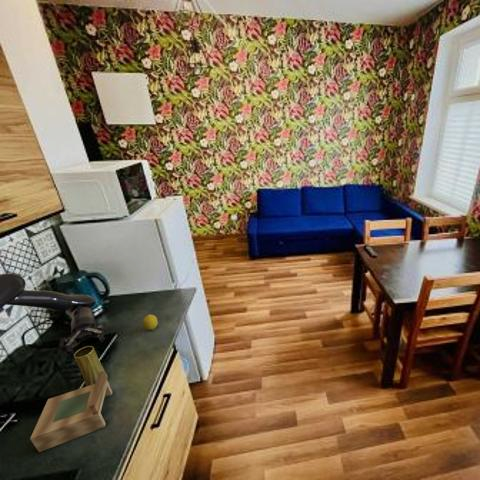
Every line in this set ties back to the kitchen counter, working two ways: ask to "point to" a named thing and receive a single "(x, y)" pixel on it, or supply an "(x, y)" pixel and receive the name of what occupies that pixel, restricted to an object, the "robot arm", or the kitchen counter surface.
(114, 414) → the kitchen counter surface
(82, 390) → the wooden tray
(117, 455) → the kitchen counter surface
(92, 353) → the vase
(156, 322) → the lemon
